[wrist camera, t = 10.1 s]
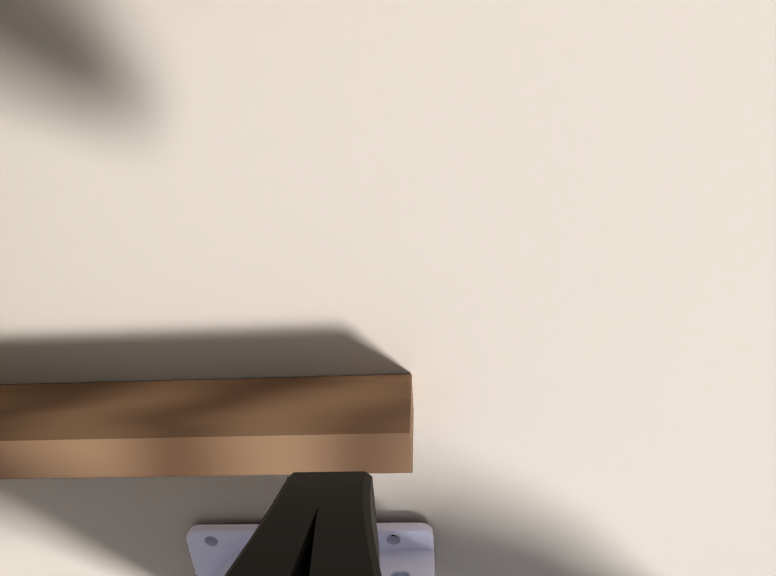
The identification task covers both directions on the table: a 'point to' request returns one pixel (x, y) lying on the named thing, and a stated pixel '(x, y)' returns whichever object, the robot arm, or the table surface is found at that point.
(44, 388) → the bay
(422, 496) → the table surface
